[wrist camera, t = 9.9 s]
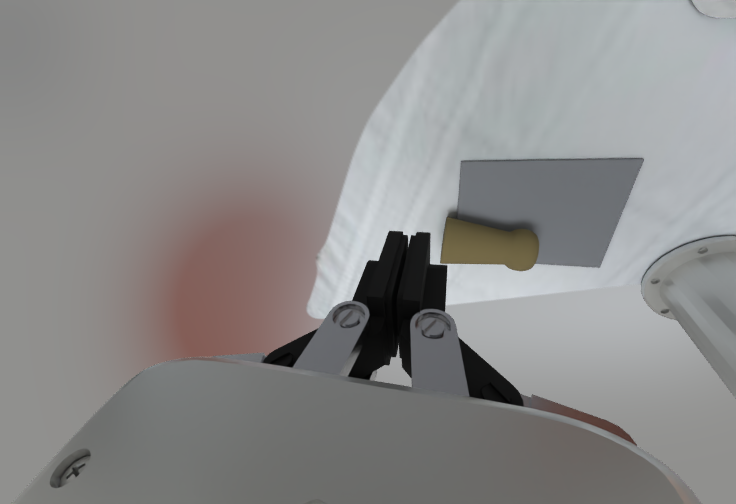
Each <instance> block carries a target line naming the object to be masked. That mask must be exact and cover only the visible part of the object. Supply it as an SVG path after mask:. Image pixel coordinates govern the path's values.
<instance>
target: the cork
mask: <svg viewBox="0 0 736 504" xmlns="http://www.w3.org/2000/svg"><path fill="white" fill-rule="evenodd" d="M538 254H539V239H538V237H537V235H536V234H535V233H534V232H532V231H530V230H528V229H515V230H513V231H511V232H508V231H504V230H500V229H495V228H491V227H487V226H483V225H479V224H475V223H471V222H466V221H462V220H458V219H454V218H450V217H447V219H446V224H445V229H444V236H443V243H442V250H441V260H440V263H445V264H505V265H506V266H507V267H508V268H510V269H512V270H517V271H526V270H529V269H531V268H532V267H533V266H534V264H535V263H536V260H537V258H538Z"/></svg>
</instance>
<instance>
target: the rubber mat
mask: <svg viewBox="0 0 736 504" xmlns="http://www.w3.org/2000/svg"><path fill="white" fill-rule="evenodd" d="M643 161H644V159H643V158H624V159H559V160H493V161H461V173H460V186H459V199H458V212H457V219H458V220H462V221H466V222H471V223H475V224H479V225H483V226H487V227H491V228H495V229H500V230H504V231H508V232H511V231H513V230H515V229H528V230H530V231H532V232H534V233H535V234H536V235H537V237H538V239H539V254H538V258H537V260H536V263H535V264H548V265H565V266H581V267H598V268H600V265H601V263H602V260H603V258H604V256H605V253H606V251H607V248H608V246H609V243H610V241H611V239H612V236H613V234H614V231H615V229H616V226H617V224H618V222H619V219H620V217H621V214H622V212H623V209H624V207H625V205H626V202H627V200H628V197H629V195H630V192H631V190H632V188H633V185H634V183H635V180H636V178H637V175H638V173H639V171H640V168H641V166H642V163H643Z"/></svg>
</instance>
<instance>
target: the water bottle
mask: <svg viewBox="0 0 736 504" xmlns="http://www.w3.org/2000/svg"><path fill="white" fill-rule="evenodd" d="M692 2H693V4H694V5H695V7H696V8H697V9H698V10H699V11H700V12H701V13H703V14H705V15H707V16H710V17H714V18H736V0H692Z"/></svg>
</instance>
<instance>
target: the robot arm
mask: <svg viewBox="0 0 736 504" xmlns="http://www.w3.org/2000/svg"><path fill="white" fill-rule="evenodd" d="M446 283H447V265H433V264H430V233H425V232H417V233H416V236H413V235H411V239H410V243H409V247H408V236H407V235H403V232H400V231H389V233H388V236H387V238H386V241H385V244H384V247H383V250H382V253H381V256H380V258H379V261H371V260H369V261H368V262H367V264H366V267H365V269H364V272H363V274H362V277H361V280H360V282H359V285H358V287H357V290H356V292H355V295H354V297H353V300H352V301H346V302H343V303H340V304H338V305H336V306H335V307H334V308H333V309H332V310H331V311H330V312H329V314H328V315H327V317H326V318H325V320H324V321H323V323H322V324H321V326H320V327H319V328H318V329H316V330H314V331H312V332H310V333H308V334H306V335H304V336H302V337H300V338H298V339H296V340H294V341H292V342H290V343H288V344H286V345H284V346H282V347H280V348H278V349H276V350H274V351H273V352H271V353H270V354H269V355H268V356H265V354H264V353H253V354H238V355H223V356H213V357H191V358H181V359H177V360H171V361H166V362H163V363H160V364H157V365H154V366H151V367H149V368H147V369H146V370H143V371H142V372H140V373H139V374H137V375H136V376H135V377H133V378H132V379H131V380H129V381H128V382H127V383H126V384H125V385H124V386H123V387H121V388H120V389H119V390H118V391H117V392H116V393H115V394H114V395H113V396H112V397H111V398H110V399H109V400H108V401H107V402H106V403H105V404H104V405H103V406H102V407H101V408H100V409H99V410H98V411H97V412H96V413H95V414H94V415H93V416H92V417H91V418H90V419H89V420H88V421H87V422H86V423H85V424H84V425H83V427H81V428H80V429H79V430H78V432H77V433H76V434H75V435H74V436H73V437H72V438H71V439H70V440H69V441H68V442H67V443H66V444H65V445H64V446H63V447H62V448H61V450H60V451H59V452H58V453H57V454H56V455H55V456H54V457H53V458H52V459H51V461H50V462H49V463H48V464H47V465H46V466H45V467H44V468H43V469H42V470H41V472H39V474H38V475H37V476H36V477H35V478H34V479H33V480H32V481H31V483H29V485H28V486H27V487H26V488H25V489H24V490H23V491H22V492H21V493H20V494H19V496H18V497H17V498H16V499H15V500H14V501H13V502H12V503H11V504H702V503H701V502H700V500H699V499H698V498H697V497H696V495H695V494H694V492H693V491H692V490H691V489H690V488H689V486H687V484H686V483H685V482H684V481H683V480H682V479H681V478H680V477H679V476H678V475H677V474H676V473H675V472H674V471H673V470H671V469H670V468H669V467H668V466H666V465H665V464H664V463H663V462H661V461H660V460H658V459H657V458H655V457H654V456H652V455H651V454H649V453H648V452H646V451H644V450H643V449H641V448H639V447H637V444H636V443H635V442H634V441H633V439H632V438H631V437H630V435H629V434H627V433H626V432H625V431H624V430H623V429H621V428H620V427H619V426H617V425H615V424H613V423H611V422H609V421H607V420H604V419H601V418H598V417H595V416H593V415H590V414H587V413H584V412H581V411H578V410H576V409H573V408H570V407H567V406H564V405H561V404H558V403H555V402H553V401H550V400H547V399H544V398H541V397H538V396H535V395H532V396H531V397H528V396H524V395H522V394H520V393H519V392H518V390H517V389H516V388H515V387H514V386H513V385H512V384H511V383H510V382H509V381H507V380H506V379H505V378H504V377H503V376H502V375H500V374H499V373H498V372H497V371H496V370H495V369H494V368H492V366H490V365H489V364H488V363H487V362H486V361H485V360H484V359H482V358H481V357H480V356H479V355H478V354H477V353H476V352H475V351H473V350H472V349H471V348H470V347H469V346H468V345H467V344H465V343H464V342H463V341H462V340H461V339H460V338H459V337H458V334H457V328H456V324H455V322H454V319H453V318H452V317H451V316H450V315H449V314H447V313H445V302H446ZM641 293H642V296H643V299H644V300H645V301H646V303H647V304H648V306H649V307H650V308H651V309H652V310H653V311H655V312H656V313H658V314H659V315H662V316H664V317H667V318H670V319H674V320H677V321H678V322H679V323H680V325H681V326H682V328H683V329H684V330H685V332H686V333H687V334H688V335H689V337H690V338H691V340H692V341H693V342H694V343H695V345H696V346H697V348H698V349H699V350H700V352H701V353H702V354H703V355H704V357H705V358H706V360H707V361H708V362H709V363H710V365H711V366H712V368H713V369H714V370H715V372H716V373H717V374H718V376H719V377H720V378H721V380H722V381H723V382H724V384H725V385H726V386H727V388H728V389H729V390H730V392H731V393H732V394H733V396H734V397H735V398H736V236H722V237H713V238H708V239H703V240H699V241H696V242H693V243H689V244H686V245H684V246H682V247H680V248H677V249H675V250H673V251H671V252H670V253H668V254H666V255H665V256H663V257H662V258H661V259H659V260H658V261H657V262H656V263H654V264H653V265H652V267H651V268H650V269H649V270H648V271H647V273H646V274H645V276H644V278H643V281H642V284H641ZM398 345H399V353H400V358H402V367H403V369H404V370H405V371H406V372H407V374H408V375H409V376H410V377H411V378H412V387H408V386H401V385H396V384H390V383H383V382H377V381H374V380H375V378H376V374H377V369H379V368H380V367H382V366H384V365H389V364H390V359H391V357H396V355H397V350H398Z"/></svg>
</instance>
